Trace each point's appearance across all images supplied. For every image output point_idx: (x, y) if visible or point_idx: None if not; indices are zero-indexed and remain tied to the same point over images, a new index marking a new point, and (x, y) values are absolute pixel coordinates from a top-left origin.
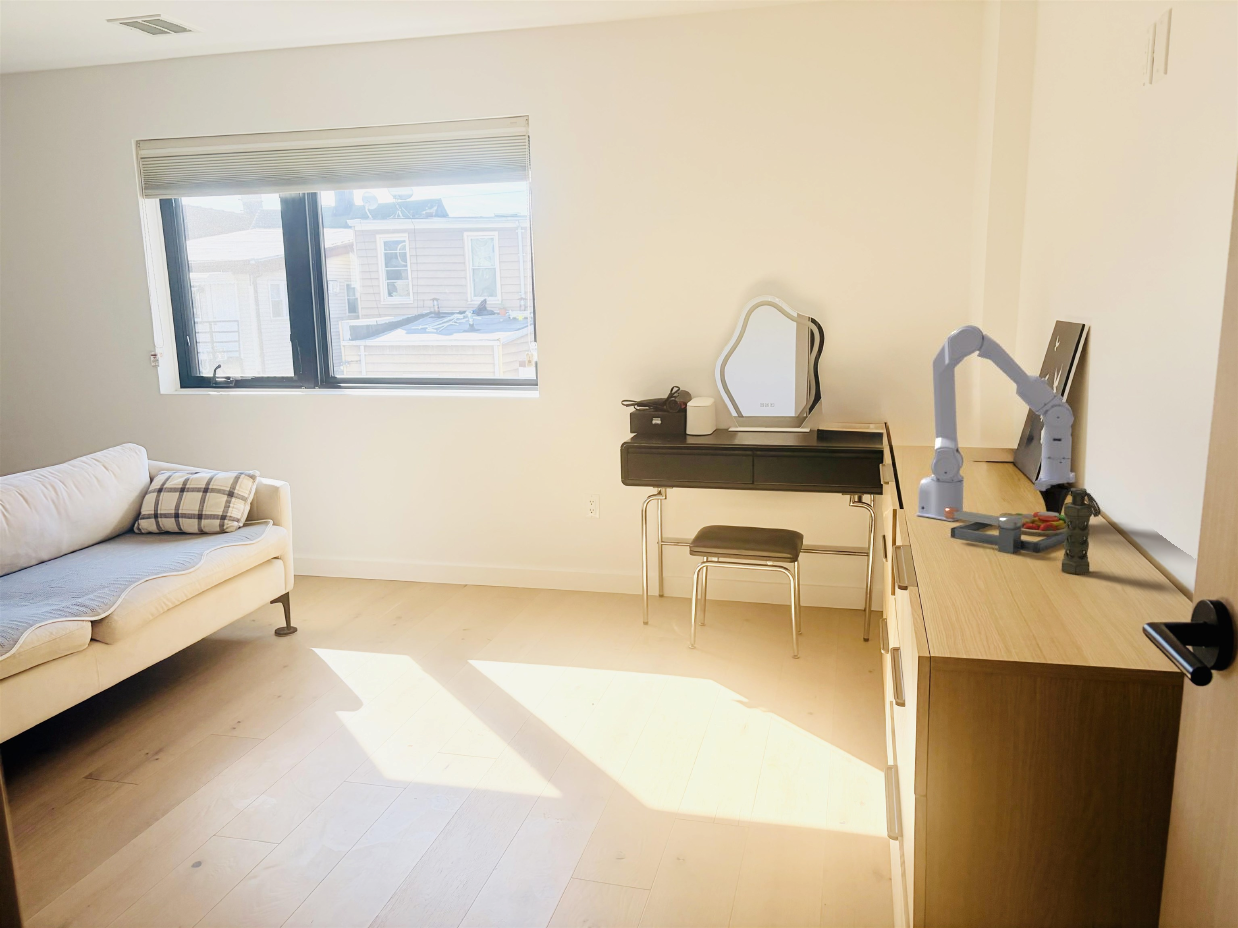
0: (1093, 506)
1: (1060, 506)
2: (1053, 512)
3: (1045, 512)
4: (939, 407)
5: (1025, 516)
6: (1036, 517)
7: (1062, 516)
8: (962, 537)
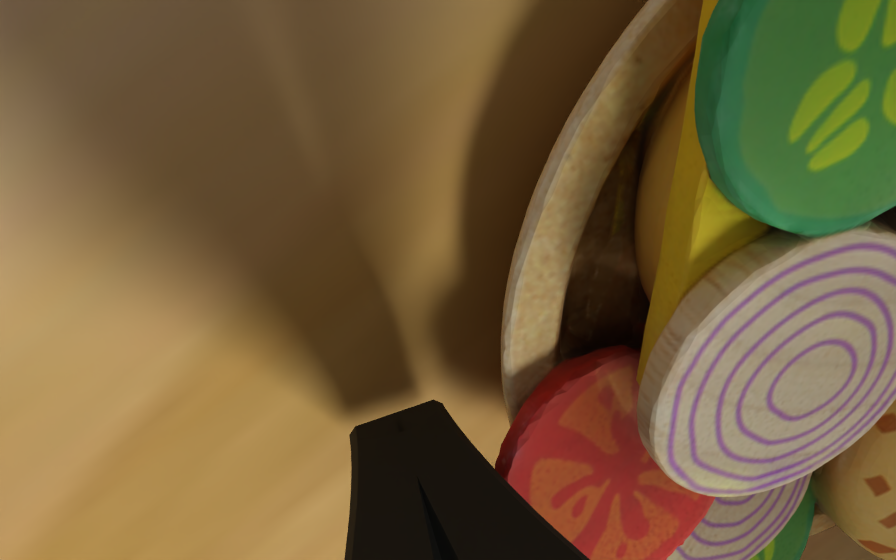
0: None
1: (483, 552)
2: (675, 413)
3: (748, 453)
4: None
5: (762, 516)
6: None
7: (886, 114)
8: None
